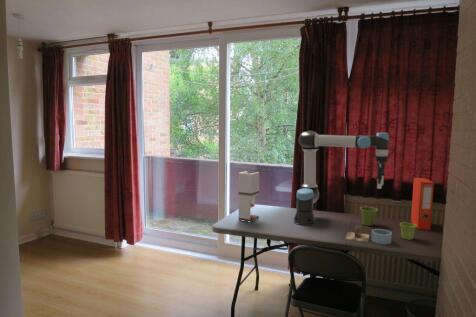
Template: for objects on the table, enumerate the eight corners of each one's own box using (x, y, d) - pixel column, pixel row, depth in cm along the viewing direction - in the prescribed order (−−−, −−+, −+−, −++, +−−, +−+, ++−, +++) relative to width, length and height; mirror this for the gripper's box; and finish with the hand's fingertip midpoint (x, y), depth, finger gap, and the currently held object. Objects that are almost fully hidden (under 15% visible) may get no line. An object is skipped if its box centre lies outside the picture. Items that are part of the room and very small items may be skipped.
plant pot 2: (395, 235, 218) (396, 222, 217) (410, 235, 219) (410, 222, 218) (404, 241, 209) (404, 227, 208) (419, 240, 210) (419, 226, 209)
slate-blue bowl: (370, 243, 206) (371, 233, 205) (371, 237, 216) (372, 228, 215) (391, 245, 201) (391, 235, 200) (391, 239, 211) (391, 230, 210)
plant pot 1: (378, 227, 235) (379, 211, 234) (360, 226, 238) (361, 210, 236) (375, 222, 247) (376, 207, 245) (358, 221, 249) (358, 206, 248)
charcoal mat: (344, 240, 210) (344, 239, 210) (347, 233, 223) (347, 232, 223) (368, 243, 205) (368, 242, 205) (370, 236, 217) (370, 235, 217)
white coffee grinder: (251, 222, 247) (251, 174, 243) (238, 220, 252) (238, 172, 248) (258, 218, 256) (259, 172, 252) (246, 216, 262) (246, 170, 258)
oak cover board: (345, 239, 211) (345, 228, 210) (347, 233, 222) (348, 222, 222) (368, 242, 205) (368, 231, 204) (369, 235, 217) (369, 225, 216)
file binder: (423, 222, 246) (425, 178, 243) (430, 230, 230) (433, 182, 226) (410, 221, 248) (413, 177, 245) (417, 229, 232) (420, 182, 228)
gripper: (386, 157, 220) (384, 190, 223) (389, 154, 242) (387, 184, 245) (373, 157, 223) (372, 189, 226) (377, 153, 246) (376, 183, 248)
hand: (380, 186), depth 235 cm, fingers open, 13 cm apart
